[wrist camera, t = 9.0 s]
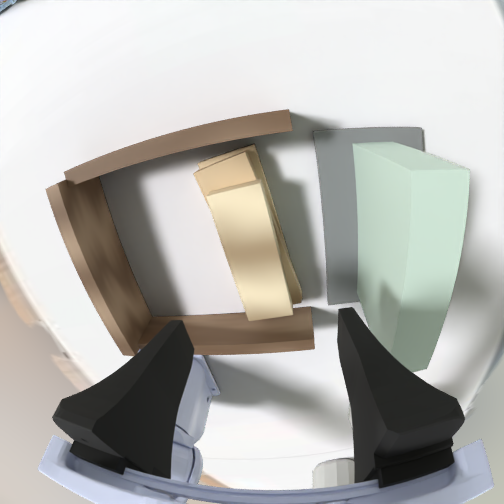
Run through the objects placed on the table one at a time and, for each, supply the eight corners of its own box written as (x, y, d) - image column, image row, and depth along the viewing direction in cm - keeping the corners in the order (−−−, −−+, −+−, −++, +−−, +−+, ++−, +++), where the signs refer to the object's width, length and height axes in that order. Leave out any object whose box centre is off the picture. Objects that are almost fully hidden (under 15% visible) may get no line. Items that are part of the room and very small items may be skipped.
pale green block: (389, 287, 21) (426, 368, 13) (357, 292, 22) (383, 378, 14) (392, 141, 16) (469, 169, 8) (352, 143, 16) (411, 170, 8)
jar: (345, 454, 41) (348, 531, 25) (363, 461, 44) (367, 528, 28) (304, 465, 45) (301, 536, 29) (326, 472, 47) (325, 534, 32)
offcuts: (303, 293, 23) (306, 321, 20) (255, 303, 24) (251, 331, 21) (259, 142, 18) (255, 147, 15) (200, 161, 19) (185, 171, 16)
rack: (311, 316, 24) (315, 358, 20) (144, 325, 27) (126, 359, 23) (286, 111, 16) (289, 108, 12) (82, 165, 19) (43, 181, 15)
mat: (411, 288, 22) (413, 292, 21) (327, 301, 23) (328, 305, 23) (417, 127, 16) (421, 127, 15) (312, 131, 17) (313, 131, 16)
